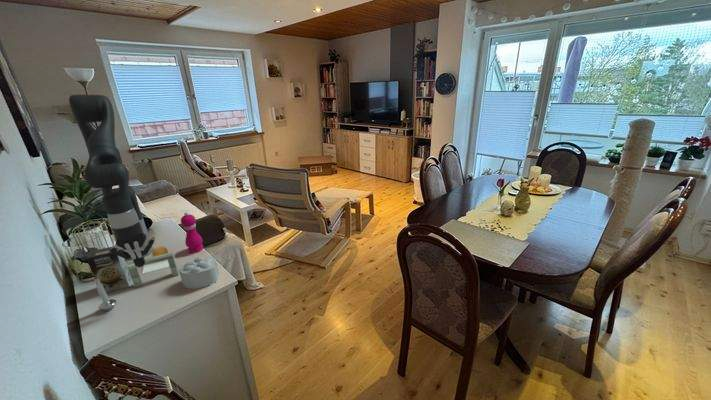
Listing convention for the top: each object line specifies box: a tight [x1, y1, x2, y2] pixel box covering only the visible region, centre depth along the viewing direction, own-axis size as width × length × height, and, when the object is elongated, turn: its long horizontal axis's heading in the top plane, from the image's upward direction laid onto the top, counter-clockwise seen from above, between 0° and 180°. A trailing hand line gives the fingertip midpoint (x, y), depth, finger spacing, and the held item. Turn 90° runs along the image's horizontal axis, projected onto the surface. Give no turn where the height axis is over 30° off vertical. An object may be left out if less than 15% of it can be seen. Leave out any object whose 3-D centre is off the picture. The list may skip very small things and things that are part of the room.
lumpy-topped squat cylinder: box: [178, 256, 220, 290], centre depth 114 cm, size 10×13×9 cm
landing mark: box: [141, 252, 176, 275], centre depth 129 cm, size 12×12×1 cm
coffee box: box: [85, 246, 132, 293], centre depth 111 cm, size 9×6×16 cm
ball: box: [151, 245, 169, 257], centre depth 131 cm, size 6×6×6 cm
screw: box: [93, 278, 117, 312], centre depth 100 cm, size 13×5×5 cm
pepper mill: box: [180, 211, 204, 254], centre depth 135 cm, size 7×7×20 cm
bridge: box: [127, 251, 180, 289], centre depth 115 cm, size 3×15×10 cm, turn 120°
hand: (141, 265), depth 102 cm, fingers closed
